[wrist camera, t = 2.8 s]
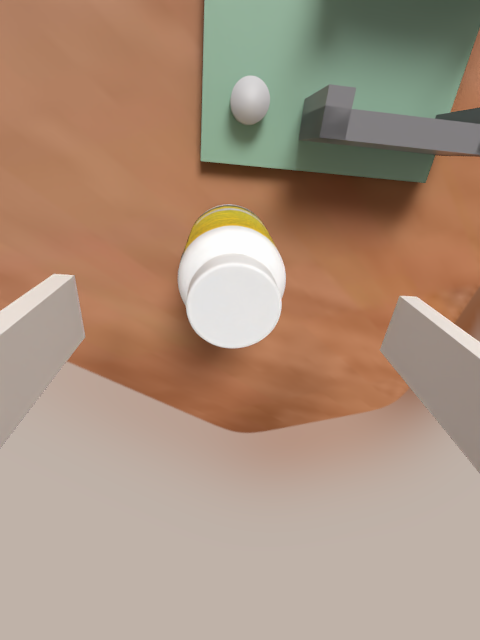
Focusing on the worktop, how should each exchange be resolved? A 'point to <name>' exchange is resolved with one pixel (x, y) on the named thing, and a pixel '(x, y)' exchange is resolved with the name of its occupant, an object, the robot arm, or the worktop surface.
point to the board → (327, 76)
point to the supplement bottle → (231, 278)
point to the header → (387, 126)
